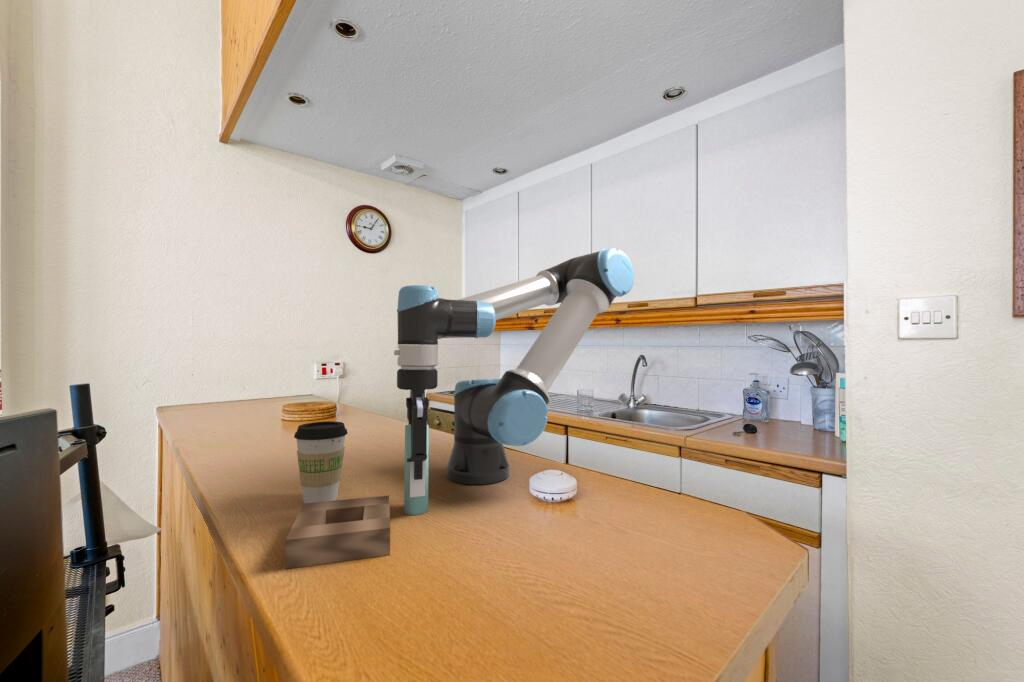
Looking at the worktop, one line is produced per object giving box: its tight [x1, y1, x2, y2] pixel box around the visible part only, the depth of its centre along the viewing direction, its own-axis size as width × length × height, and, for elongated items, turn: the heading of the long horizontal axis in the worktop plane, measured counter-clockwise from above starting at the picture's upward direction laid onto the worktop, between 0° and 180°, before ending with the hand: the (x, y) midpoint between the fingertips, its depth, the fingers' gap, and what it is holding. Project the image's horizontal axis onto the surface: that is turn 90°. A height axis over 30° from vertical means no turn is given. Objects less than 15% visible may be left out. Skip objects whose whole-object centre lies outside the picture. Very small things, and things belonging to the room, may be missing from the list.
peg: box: [403, 423, 430, 516], centre depth 79 cm, size 4×4×16 cm
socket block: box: [284, 495, 391, 570], centre depth 67 cm, size 14×14×4 cm
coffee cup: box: [293, 420, 348, 504], centre depth 84 cm, size 10×10×15 cm
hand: (416, 490), depth 79 cm, fingers closed on peg, 4 cm apart
